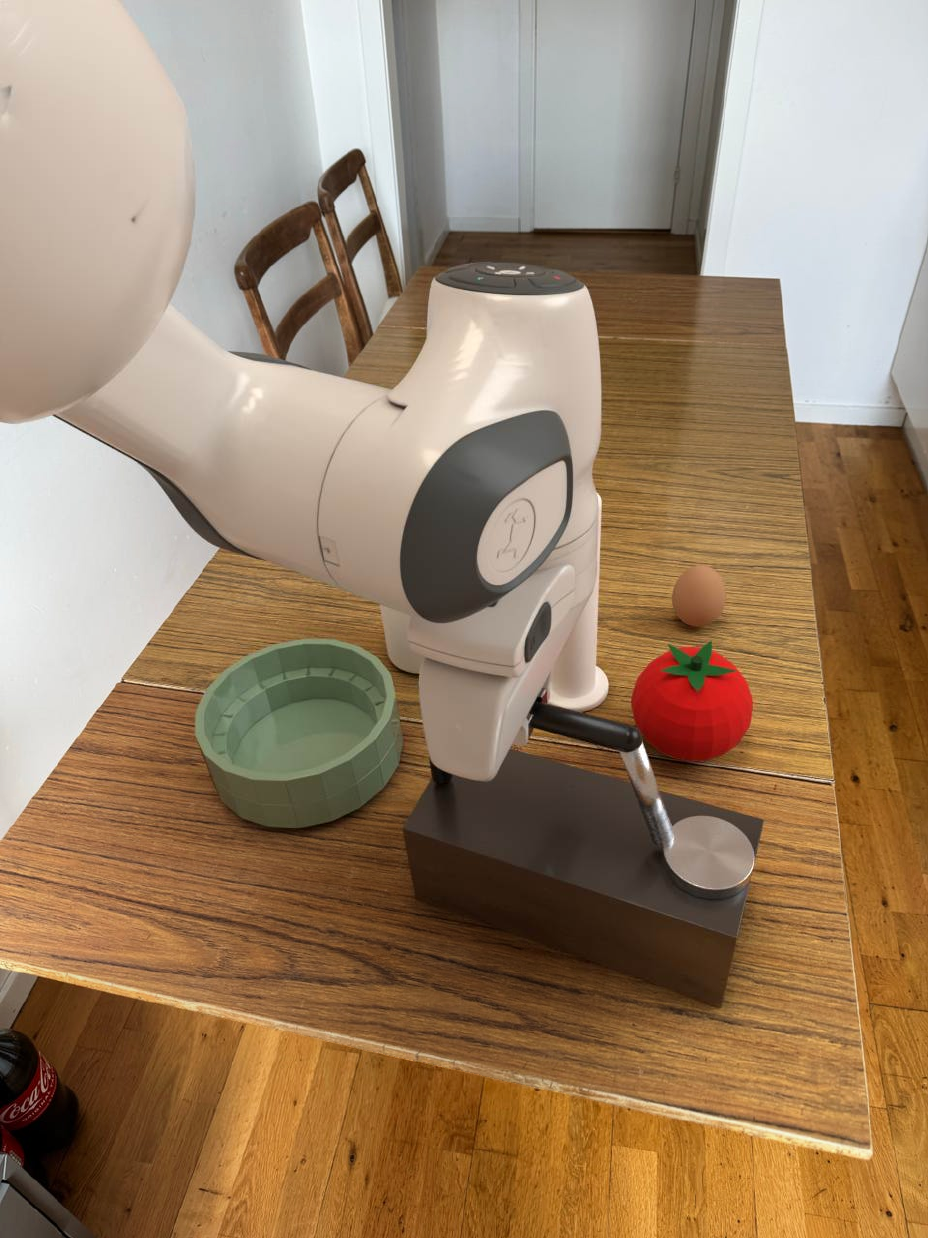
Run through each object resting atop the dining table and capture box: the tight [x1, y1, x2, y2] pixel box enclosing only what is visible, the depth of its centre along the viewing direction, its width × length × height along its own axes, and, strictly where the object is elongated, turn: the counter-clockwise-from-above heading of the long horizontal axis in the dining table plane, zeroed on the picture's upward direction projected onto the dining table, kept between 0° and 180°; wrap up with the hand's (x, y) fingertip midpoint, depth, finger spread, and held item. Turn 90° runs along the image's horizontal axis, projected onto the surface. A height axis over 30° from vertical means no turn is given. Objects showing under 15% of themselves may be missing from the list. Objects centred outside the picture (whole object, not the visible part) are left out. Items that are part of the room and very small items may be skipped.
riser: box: [401, 748, 765, 1009], centre depth 67 cm, size 10×24×9 cm, turn 66°
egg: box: [671, 564, 727, 628], centre depth 92 cm, size 5×5×7 cm
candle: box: [547, 492, 610, 713], centre depth 80 cm, size 7×7×25 cm
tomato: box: [630, 640, 754, 762], centre depth 78 cm, size 10×10×10 cm
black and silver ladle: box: [417, 682, 756, 900], centre depth 61 cm, size 24×6×11 cm, turn 66°
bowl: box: [194, 638, 404, 829], centre depth 81 cm, size 18×18×7 cm
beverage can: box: [379, 604, 424, 675], centre depth 90 cm, size 8×8×12 cm
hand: (525, 721), depth 60 cm, fingers closed on black and silver ladle
